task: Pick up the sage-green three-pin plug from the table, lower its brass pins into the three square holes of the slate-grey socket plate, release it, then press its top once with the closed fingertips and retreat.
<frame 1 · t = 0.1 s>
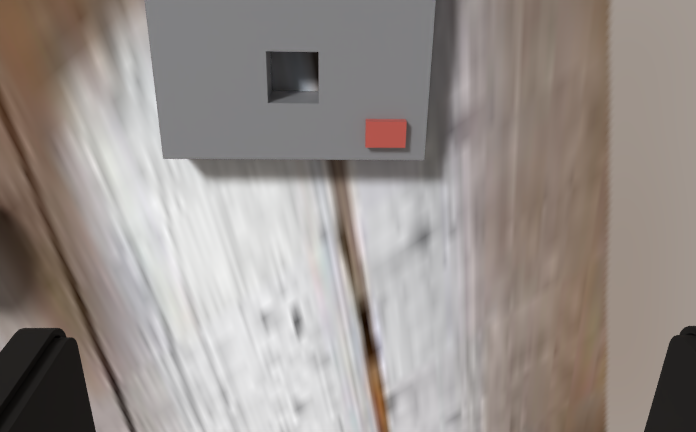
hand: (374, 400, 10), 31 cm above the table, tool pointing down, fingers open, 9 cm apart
socket plate: (294, 17, 37), on the table
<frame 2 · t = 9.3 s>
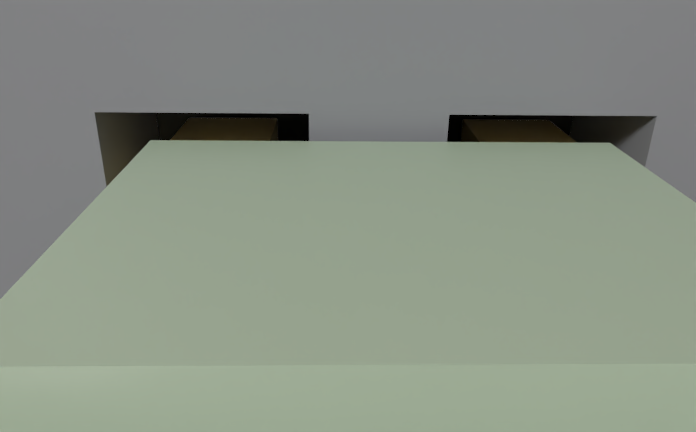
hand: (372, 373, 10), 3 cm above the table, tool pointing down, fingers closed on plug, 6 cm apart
plug: (365, 297, 13), point 1 cm above the table, touching gripper
socket plate: (362, 279, 13), on the table
when the fingers open (3 cm above the table, at t = 9.3 s): plug stays where it is, resting on socket plate.
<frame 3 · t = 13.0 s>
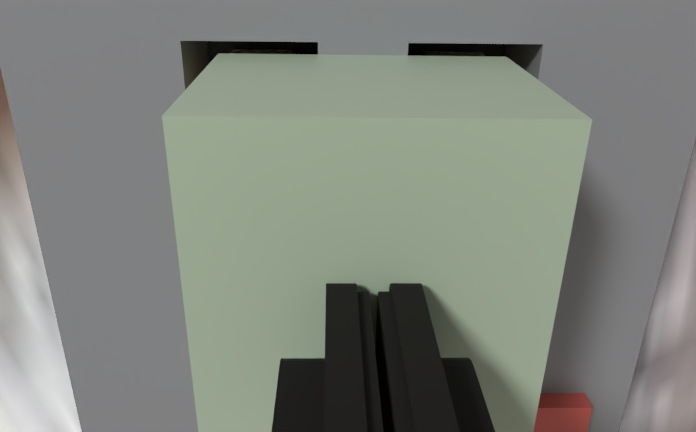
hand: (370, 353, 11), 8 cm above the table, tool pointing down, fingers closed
plug: (355, 183, 18), resting on socket plate, touching gripper
socket plate: (354, 181, 18), on the table
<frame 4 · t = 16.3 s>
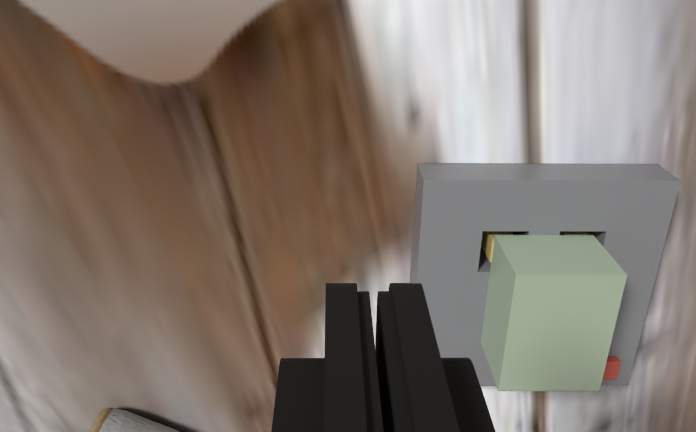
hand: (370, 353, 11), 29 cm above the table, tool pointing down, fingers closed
plug: (522, 270, 44), resting on socket plate
socket plate: (522, 269, 44), on the table
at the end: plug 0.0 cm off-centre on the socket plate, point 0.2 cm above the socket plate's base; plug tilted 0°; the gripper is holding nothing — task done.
